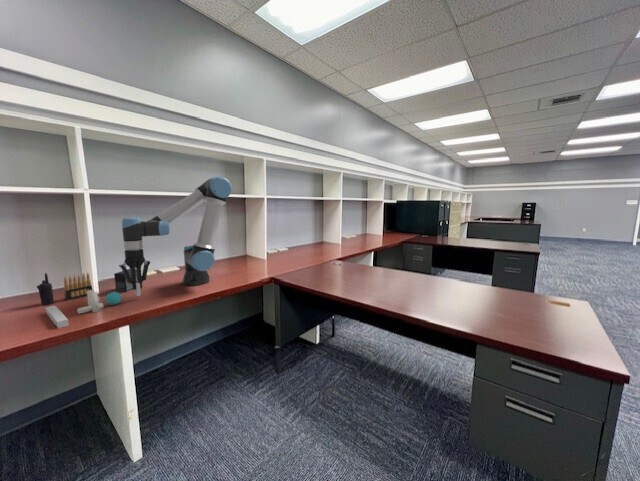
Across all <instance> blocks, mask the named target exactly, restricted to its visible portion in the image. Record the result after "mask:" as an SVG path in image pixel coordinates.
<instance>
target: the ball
mask: <svg viewBox="0 0 640 481" xmlns="http://www.w3.org/2000/svg"><path fill="white" fill-rule="evenodd" d="M121 301H122V295H121V294H120V292H116V291H111V292H110V293H108V294H106V296H105V302H106V303H107V304H108V305H109V306H115V305H118V304H119V303H120V302H121Z"/></svg>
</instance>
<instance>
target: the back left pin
mask: <svg viewBox="0 0 640 481" xmlns="http://www.w3.org/2000/svg"><path fill="white" fill-rule="evenodd" d="M90 298H91V307H92V311H91V312H92V313H98V312H99V311H100V309H99V304H100V303H99V298H98V292H97V291H94V292H92V293H90Z"/></svg>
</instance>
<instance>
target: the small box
mask: <svg viewBox="0 0 640 481" xmlns="http://www.w3.org/2000/svg"><path fill="white" fill-rule="evenodd" d="M126 269H127V268H126ZM127 271H128V273H129V276H130V278H131V271H130V268H128V269H127ZM135 274H136V282H138V281H137V270H136V268H135ZM113 276H114V284H115V292H116V291H123V292H122V293H127V291H128V292H129V290H130V291H132V290H133V288H132V283H128V282H127V280H126V278H125V275H124V273H123V270H122V271H118V272H116V273H113Z"/></svg>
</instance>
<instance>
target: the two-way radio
mask: <svg viewBox="0 0 640 481" xmlns="http://www.w3.org/2000/svg"><path fill="white" fill-rule="evenodd" d="M36 288H37V290H38V292H39V293H38V294H39V298H40V303H41V305H51V304H54V303H55V300H54V291H53V290H54V289H53V285H52V283H50V281H49V277H48V273H47V272H45V273H44V279H43V280H42V281H41V283H40V284H38V285H36Z"/></svg>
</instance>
